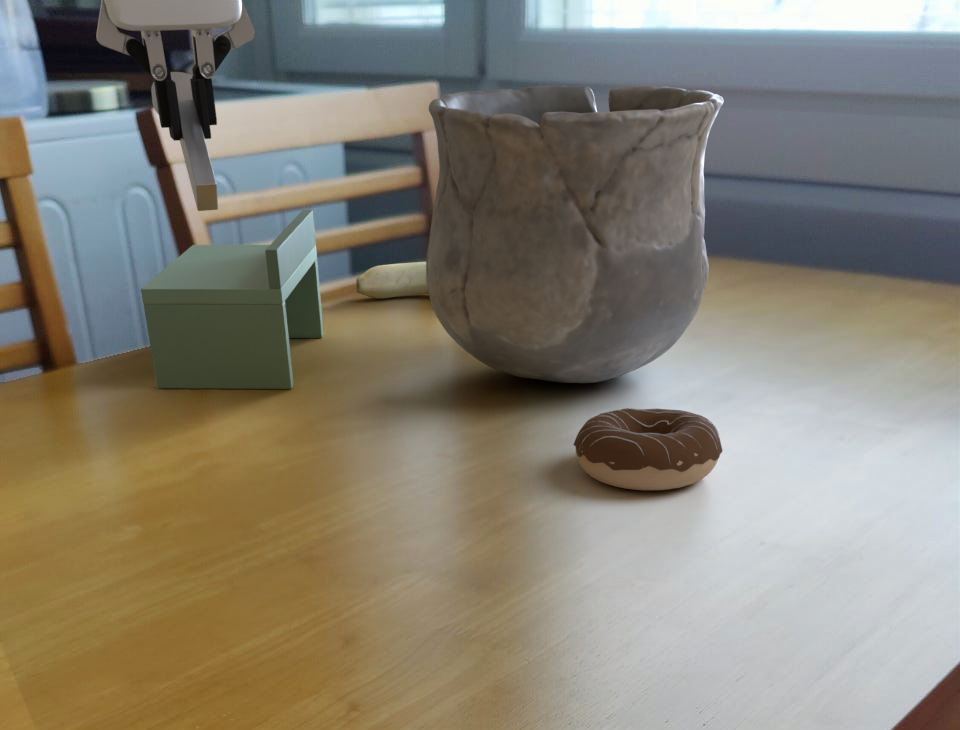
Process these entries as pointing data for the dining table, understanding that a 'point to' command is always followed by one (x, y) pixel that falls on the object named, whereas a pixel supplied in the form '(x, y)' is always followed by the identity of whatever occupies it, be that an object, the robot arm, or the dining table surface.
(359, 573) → the dining table surface
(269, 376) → the green toy chair
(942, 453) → the dining table surface
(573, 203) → the pot
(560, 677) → the dining table surface
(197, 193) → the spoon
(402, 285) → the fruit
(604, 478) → the donut
